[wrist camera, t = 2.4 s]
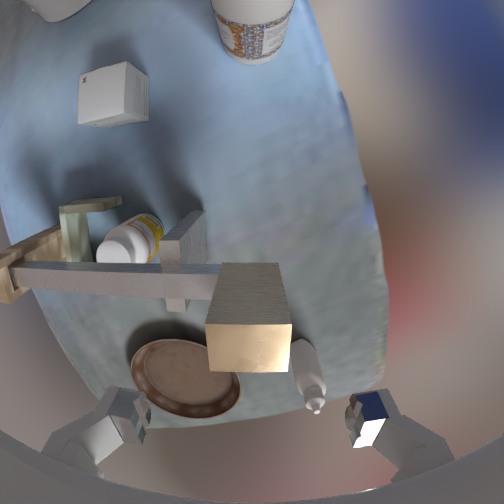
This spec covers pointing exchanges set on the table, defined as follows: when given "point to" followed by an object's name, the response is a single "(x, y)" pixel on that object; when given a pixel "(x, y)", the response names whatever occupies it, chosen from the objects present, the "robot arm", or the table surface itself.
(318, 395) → the eye dropper bottle
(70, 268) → the rod with square block
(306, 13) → the table surface
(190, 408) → the plant saucer
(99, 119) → the product box
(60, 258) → the frame
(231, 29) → the bath foam
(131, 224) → the supplement bottle
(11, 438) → the robot arm
